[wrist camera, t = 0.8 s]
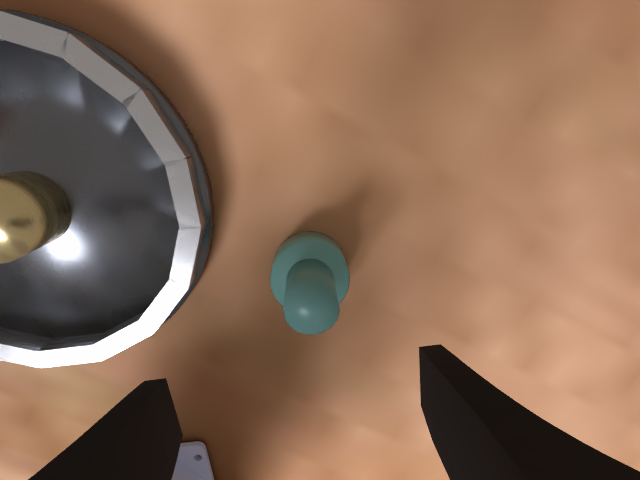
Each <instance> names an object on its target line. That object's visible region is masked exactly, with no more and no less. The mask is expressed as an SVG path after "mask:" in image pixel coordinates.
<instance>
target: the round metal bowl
mask: <svg viewBox="0 0 640 480" xmlns="http://www.w3.org/2000/svg"><path fill="white" fill-rule="evenodd" d="M213 219H214V207H213V199H212V191H211V185H210V181H209V177H208V174H207V170H206V166H205V163H204V160H203V158H202V155H201V153H200V151H199V148H198V146H197V143H196V141H195V139H194V137H193V136H192V134H191V132H190V130H189V128H188V127H187V125H186V123H185V121H184V120H183V118H182V117H181V115H180V114H179V113H178V111H177V110H176V108H175V107H174V106H173V104H172V103H171V101H170V100H169V99H168V98H167V97H166V96H165V94H164V93H163V92H162V91H161V90H160V89H159V88H158V87H157V86H156V85H155V83H154V82H153V81H152V80H151V79H150V78H149V77H147V76H146V75H145V74H144V73H143V72H142V71H141V70H139V69H138V68H137V67H136V66H135V65H134V64H133V63H132V62H130V61H129V60H127V59H126V58H124V57H123V56H122V55H120V54H119V53H117V52H116V51H114V50H113V49H112V48H110V47H109V46H107V45H105V44H103V43H101V42H99V41H98V40H96V39H94V38H92V37H90V36H88V35H86V34H84V33H82V32H80V31H77V30H75V29H72V28H69V27H67V26H64V25H62V24H59V23H57V22H54V21H51V20H49V19H46V18H43V17H39V16H35V15H31V14H27V13H23V12H19V11H12V10H3V9H0V360H2V361H7V362H12V363H17V364H22V365H27V366H32V367H37V368H46V367H54V366H63V365H72V364H80V363H89V362H98V361H103V360H105V359H107V358H109V357H111V356H113V355H115V354H116V353H118V352H120V351H122V350H124V349H126V348H128V347H130V346H132V345H134V344H135V343H137V342H139V341H141V340H143V339H145V338H147V337H149V336H151V335H153V334H154V333H155V332H156V330H157V329H158V328H159V327H160V326H161V325H162V324H163V323H165V322H166V321H167V320H168V319H169V318H171V317H172V315H173V314H174V313H175V312H176V311H177V310H178V309H179V308H180V307H181V305H182V304H183V303H184V302H185V300H186V299H187V297H188V296H189V294H190V293H191V291H192V290H193V288H194V286H195V285H196V283H197V282H198V280H199V277H200V275H201V273H202V271H203V269H204V267H205V264H206V261H207V258H208V254H209V251H210V248H211V241H212V234H213Z"/></svg>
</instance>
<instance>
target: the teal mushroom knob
mask: <svg viewBox="0 0 640 480" xmlns="http://www.w3.org/2000/svg"><path fill="white" fill-rule="evenodd" d="M349 281H350V280H349V271H348V268H347V264H346V261H345V258H344V254H343V252H342V250H341V248H340V247H339V245H338V244H337V243H336V242H335V241H334V240H333V239H331V238H330V237H328V236H326V235H324V234H321V233H318V232H301V233H298V234H295V235H293V236H291V237H289V238H288V239H286V240H285V241H284V242H283V243H282V244H281V245H280V246H279V248H278V250H277V251H276V254H275V256H274V261H273V266H272V271H271V276H270V284H271V289H272V292H273V295H274V296H275V298H276V300H277V301H278V302H279V303H280V304H281V305H282V306H283V313H284V317H285V320H286V322H287V323H288V325H289V326H290V327H291V328H293V329H294V330H295V331H297V332H300V333H303V334H308V335H314V334H319V333H322V332H325V331H326V330H328V329H329V328H331V327H332V326H333V325H334V323H335V322H336V320H337V318H338V315H339V303H340V302H341V301H342V300H343V299H344V297H345V295H346V293H347V291H348V287H349Z"/></svg>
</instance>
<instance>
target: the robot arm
mask: <svg viewBox="0 0 640 480" xmlns="http://www.w3.org/2000/svg"><path fill="white" fill-rule="evenodd" d="M419 358H420V390H421V407H422V410H423V413H424V416H425V419H426V423H427V426H428V429H429V432H430V435H431V437H432V440H433V443H434V445H435V447H436V450H437V452H438V454H439V456H440V458H441V461H442V463H443V465H444V467H445V469H446V472H447V474H448V476H449V478H450V480H640V472H639V471H637V470H635V469H633V468H631V467H629V466H627V465H625V464H623V463H621V462H619V461H617V460H615V459H613V458H611V457H609V456H607V455H605V454H603V453H601V452H600V451H598V450H596V449H594V448H592V447H590V446H588V445H586V444H585V443H583V442H581V441H579V440H578V439H576V438H574V437H572V436H571V435H569V434H567V433H565V432H564V431H562V430H560V429H558V428H557V427H555V426H553V425H552V424H550V423H548V422H547V421H545V420H543V419H542V418H540V417H539V416H537V415H536V414H534V413H533V412H531V411H530V410H528V409H526V408H525V407H523V406H522V405H520V404H519V403H517V402H516V401H514V400H513V399H512V398H510V397H509V396H507V395H506V394H504V393H503V392H502V391H500V390H499V389H497V388H496V387H495V386H493V385H492V384H491V383H489V382H488V381H487V380H485V379H484V378H483V377H481V376H480V375H479V374H477V373H476V372H475V371H474V370H472V369H471V368H470V367H468V366H467V365H466V364H465V363H463V362H462V361H461V360H460V359H458V358H457V357H456V356H455V355H453V354H452V353H451V352H450V351H448V350H447V349H446V348H445V347H443V346H442V345H441V344H440V345H432V346H424V347H419ZM182 436H183V435H182V431H181V428H180V425H179V421H178V418H177V414H176V411H175V408H174V404H173V401H172V397H171V394H170V391H169V387H168V384H167V380H166V378H165V379H157V380H149V381H144V382H143V383H141V384H140V385H139V386H138V387H136V388H135V389H134V390H133V391H132V392H130V393H129V394H128V395H127V396H126V397H125V398H124V399H122V400H121V401H120V402H119V403H118V404H117V405H116V406H115V407H113V408H112V409H111V410H110V411H109V412H108V413H107V414H106V415H104V416H103V417H102V418H101V419H100V420H99V421H98V422H96V423H95V424H94V425H93V426H92V427H91V428H90V429H89V430H87V431H86V432H85V433H84V434H83V435H82V436H81V437H79V438H78V439H77V440H76V441H75V442H74V443H72V444H71V445H70V446H69V447H67V448H66V449H65V450H64V451H63V452H61V453H60V454H59V455H58V456H57V457H55V458H54V459H53V460H52V461H51V462H49V463H48V464H47V465H46V466H45V467H43V468H42V469H41V470H40V471H38V472H37V473H36V474H35V475H34V476H32V477H31V478H30V479H28V480H214V476H213V472H212V469H211V465H210V461H209V457H208V453H207V449H206V446H205V444H204V443H202V442H200V441H195V442H186V443H181V440H182ZM198 455H201V456H198Z"/></svg>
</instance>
